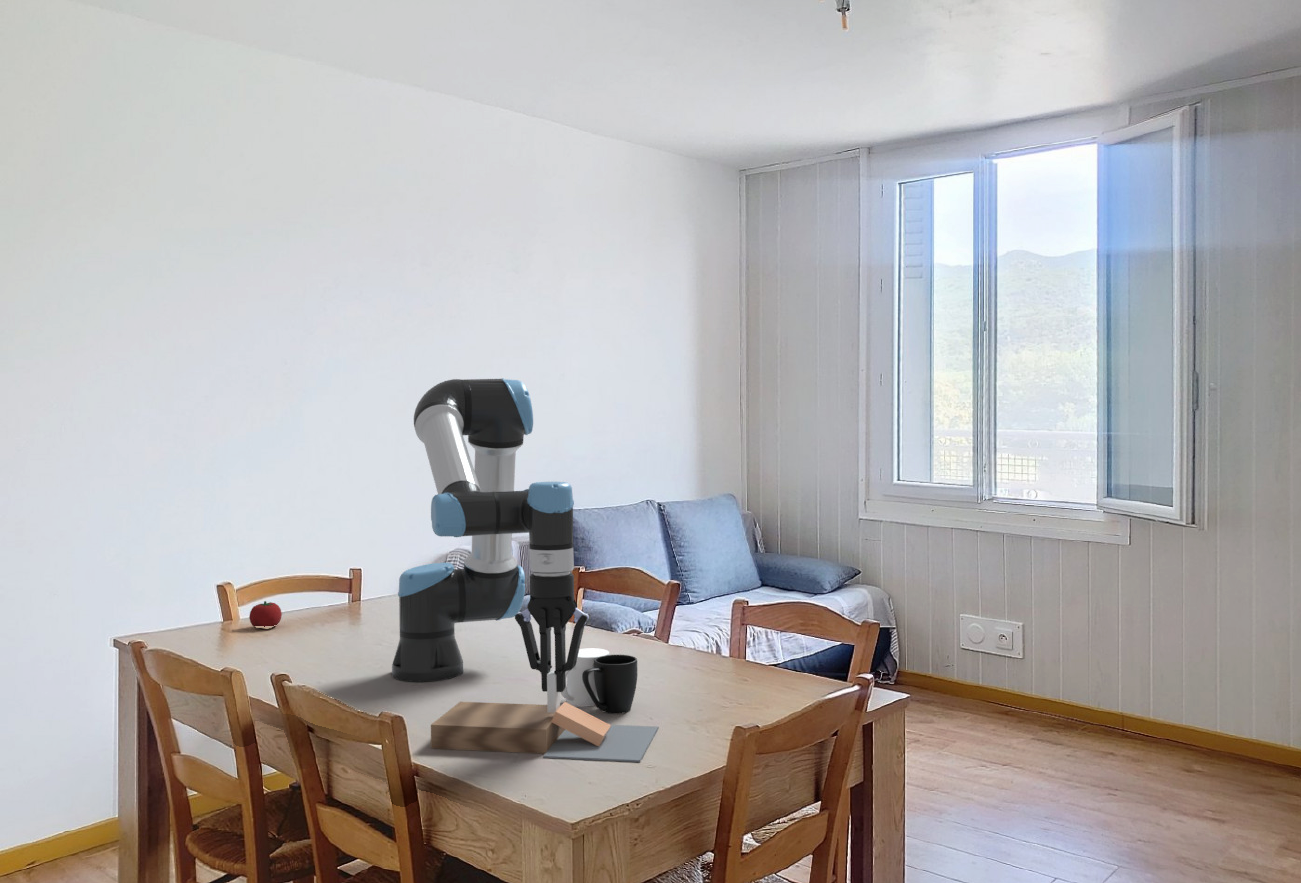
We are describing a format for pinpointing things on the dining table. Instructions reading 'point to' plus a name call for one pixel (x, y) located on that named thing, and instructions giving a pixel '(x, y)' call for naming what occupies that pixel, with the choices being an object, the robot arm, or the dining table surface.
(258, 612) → the tomato
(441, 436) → the robot arm
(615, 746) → the mat
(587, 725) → the tile
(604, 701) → the mug
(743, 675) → the dining table surface
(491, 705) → the block
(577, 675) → the mug
